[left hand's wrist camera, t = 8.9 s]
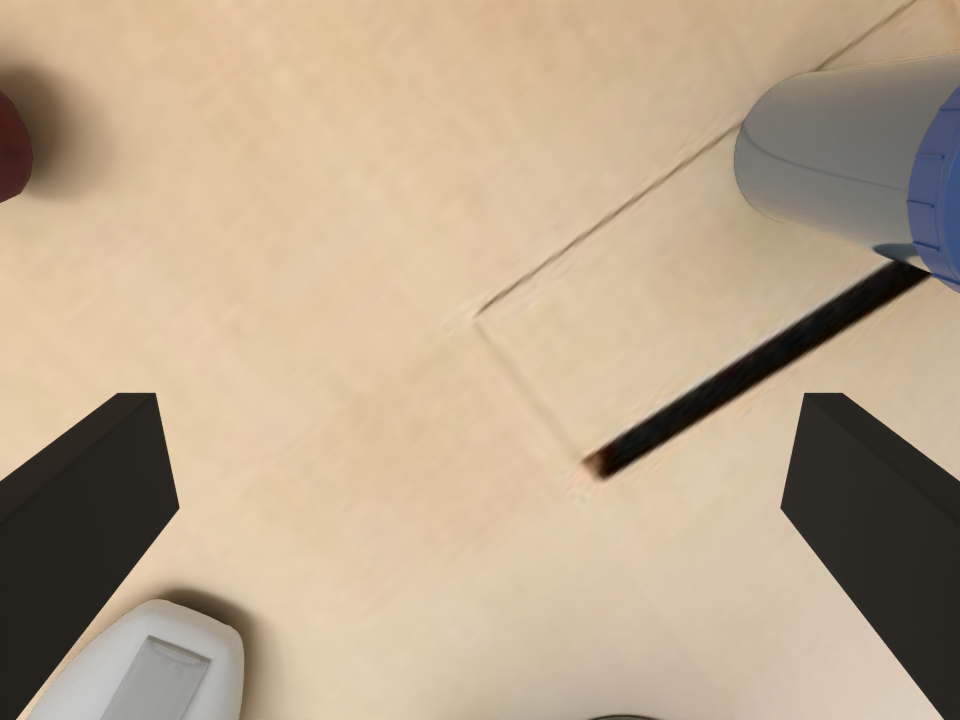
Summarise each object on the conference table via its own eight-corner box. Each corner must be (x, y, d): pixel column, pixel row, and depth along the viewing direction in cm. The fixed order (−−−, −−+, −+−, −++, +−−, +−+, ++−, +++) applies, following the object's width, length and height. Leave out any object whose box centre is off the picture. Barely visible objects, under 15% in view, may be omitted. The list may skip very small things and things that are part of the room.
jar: (714, 115, 36) (920, 111, 19) (858, 42, 35) (1219, -33, 18) (758, 245, 39) (972, 342, 22) (893, 182, 38) (1235, 233, 21)
